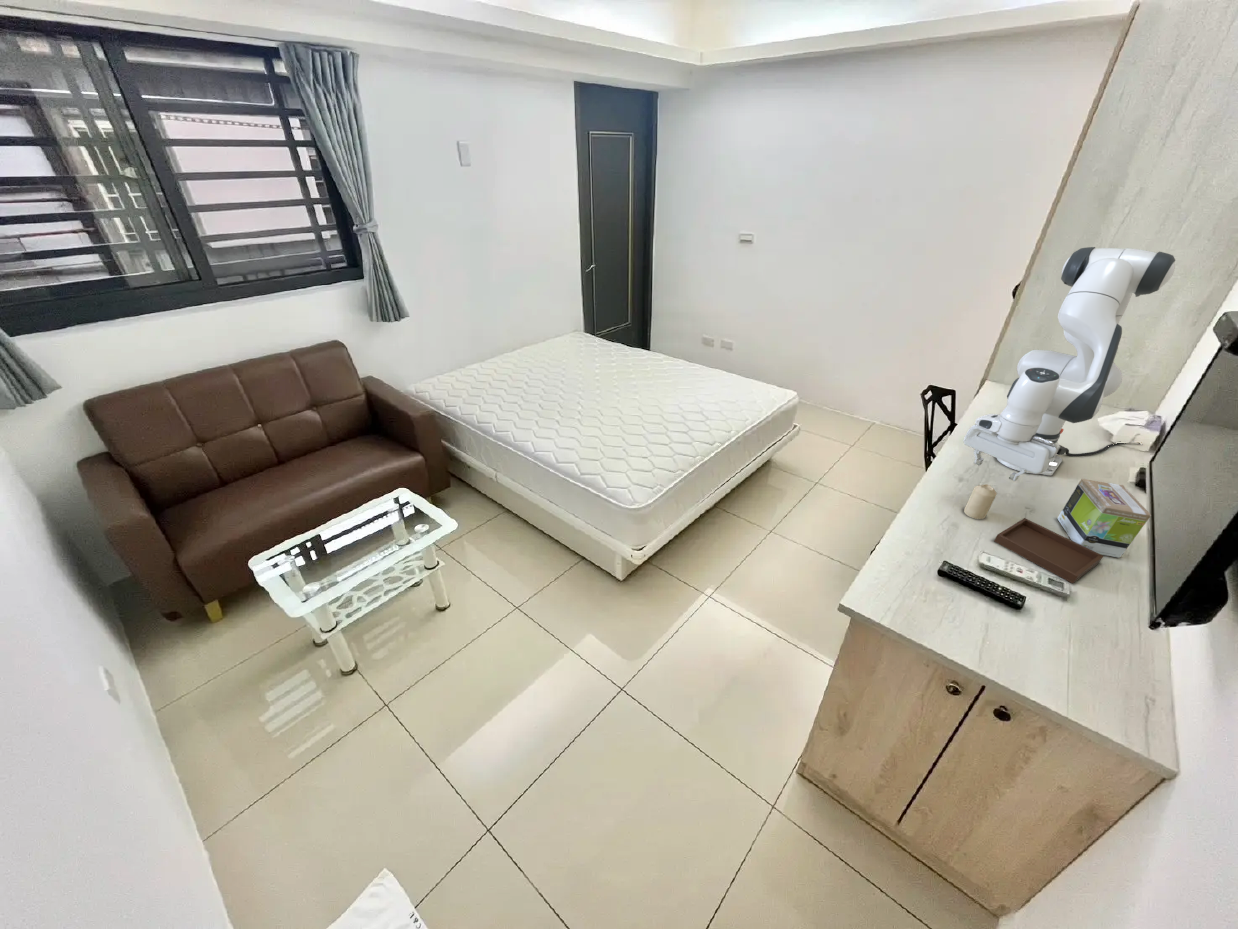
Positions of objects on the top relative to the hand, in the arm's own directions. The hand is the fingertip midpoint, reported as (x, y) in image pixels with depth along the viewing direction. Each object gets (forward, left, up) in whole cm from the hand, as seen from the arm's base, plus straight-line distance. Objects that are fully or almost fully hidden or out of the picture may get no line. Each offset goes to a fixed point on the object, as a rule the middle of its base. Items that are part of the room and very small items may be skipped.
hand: (994, 471), depth 138 cm
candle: (0, 0, -16) cm, 16 cm away
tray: (+1, +19, -15) cm, 24 cm away
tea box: (-16, +22, -16) cm, 31 cm away
